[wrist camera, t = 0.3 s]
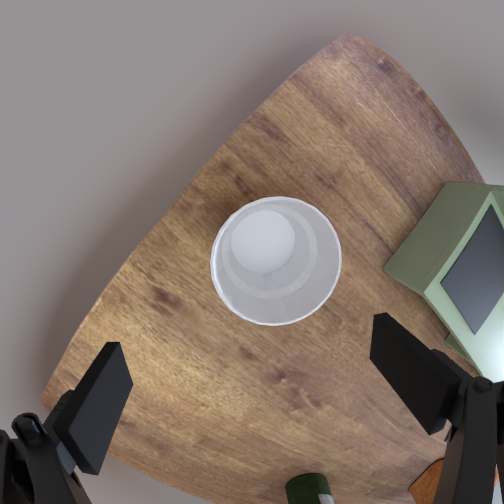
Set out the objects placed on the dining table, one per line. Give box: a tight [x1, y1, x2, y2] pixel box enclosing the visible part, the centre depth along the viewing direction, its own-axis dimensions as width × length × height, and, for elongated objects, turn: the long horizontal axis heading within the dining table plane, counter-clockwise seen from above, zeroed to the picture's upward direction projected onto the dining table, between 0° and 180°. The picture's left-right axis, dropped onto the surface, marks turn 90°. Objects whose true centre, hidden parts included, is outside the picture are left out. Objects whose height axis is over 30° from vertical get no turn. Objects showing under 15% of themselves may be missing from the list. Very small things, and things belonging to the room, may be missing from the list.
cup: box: [210, 196, 341, 326], centre depth 27 cm, size 10×10×10 cm
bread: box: [409, 459, 499, 504], centre depth 42 cm, size 14×27×15 cm, turn 72°
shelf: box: [382, 182, 504, 383], centre depth 31 cm, size 39×15×11 cm, turn 49°
